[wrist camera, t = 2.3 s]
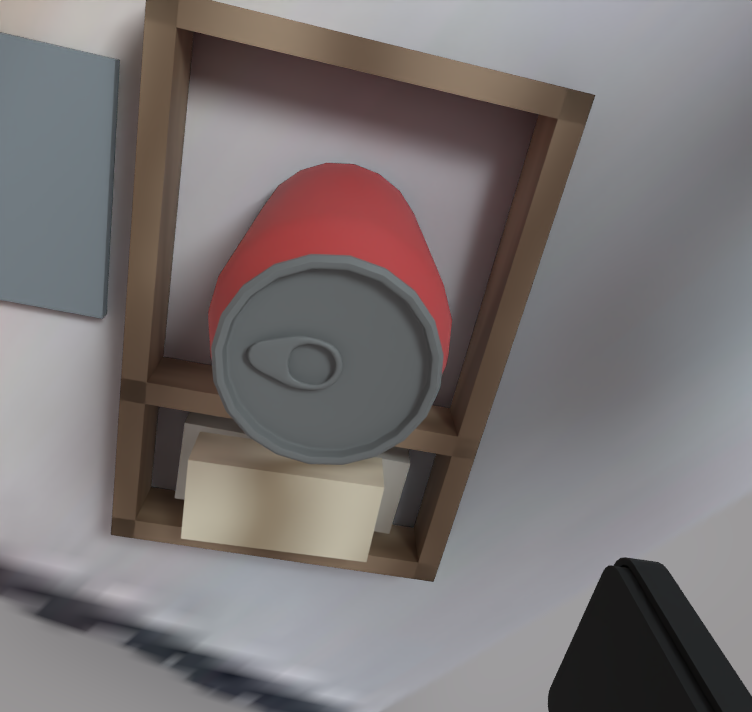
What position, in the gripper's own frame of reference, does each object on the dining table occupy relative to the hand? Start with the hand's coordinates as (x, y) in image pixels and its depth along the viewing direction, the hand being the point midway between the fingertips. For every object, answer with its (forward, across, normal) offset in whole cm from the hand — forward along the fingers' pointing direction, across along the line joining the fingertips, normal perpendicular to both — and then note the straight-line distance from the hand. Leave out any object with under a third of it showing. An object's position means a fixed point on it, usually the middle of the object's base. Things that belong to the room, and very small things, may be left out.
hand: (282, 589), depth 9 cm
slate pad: (+19, +13, -1) cm, 23 cm away
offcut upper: (+17, 0, +10) cm, 20 cm away
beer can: (+19, -1, -1) cm, 19 cm away
